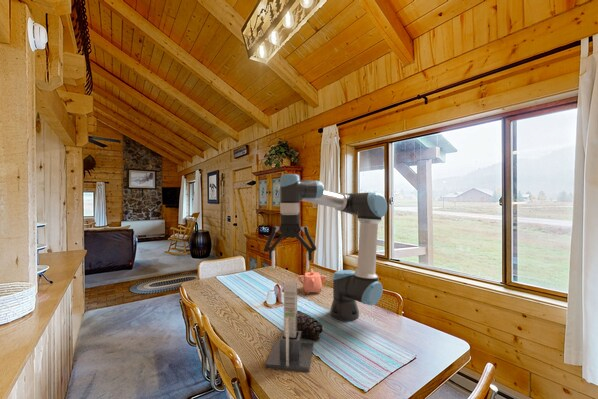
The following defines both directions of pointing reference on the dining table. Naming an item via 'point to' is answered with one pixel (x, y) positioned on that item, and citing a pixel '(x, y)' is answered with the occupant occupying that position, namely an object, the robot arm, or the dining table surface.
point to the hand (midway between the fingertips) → (290, 268)
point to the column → (290, 308)
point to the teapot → (312, 282)
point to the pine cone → (308, 326)
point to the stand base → (290, 353)
